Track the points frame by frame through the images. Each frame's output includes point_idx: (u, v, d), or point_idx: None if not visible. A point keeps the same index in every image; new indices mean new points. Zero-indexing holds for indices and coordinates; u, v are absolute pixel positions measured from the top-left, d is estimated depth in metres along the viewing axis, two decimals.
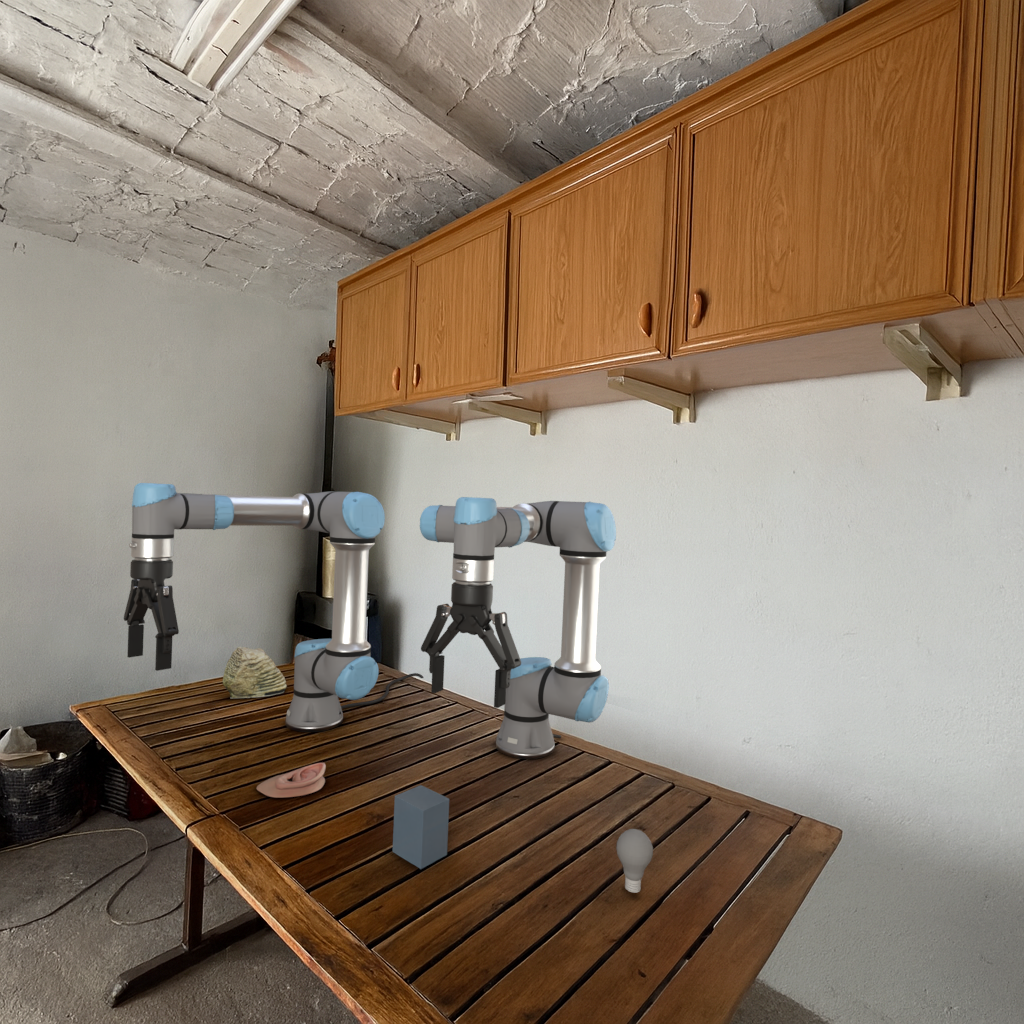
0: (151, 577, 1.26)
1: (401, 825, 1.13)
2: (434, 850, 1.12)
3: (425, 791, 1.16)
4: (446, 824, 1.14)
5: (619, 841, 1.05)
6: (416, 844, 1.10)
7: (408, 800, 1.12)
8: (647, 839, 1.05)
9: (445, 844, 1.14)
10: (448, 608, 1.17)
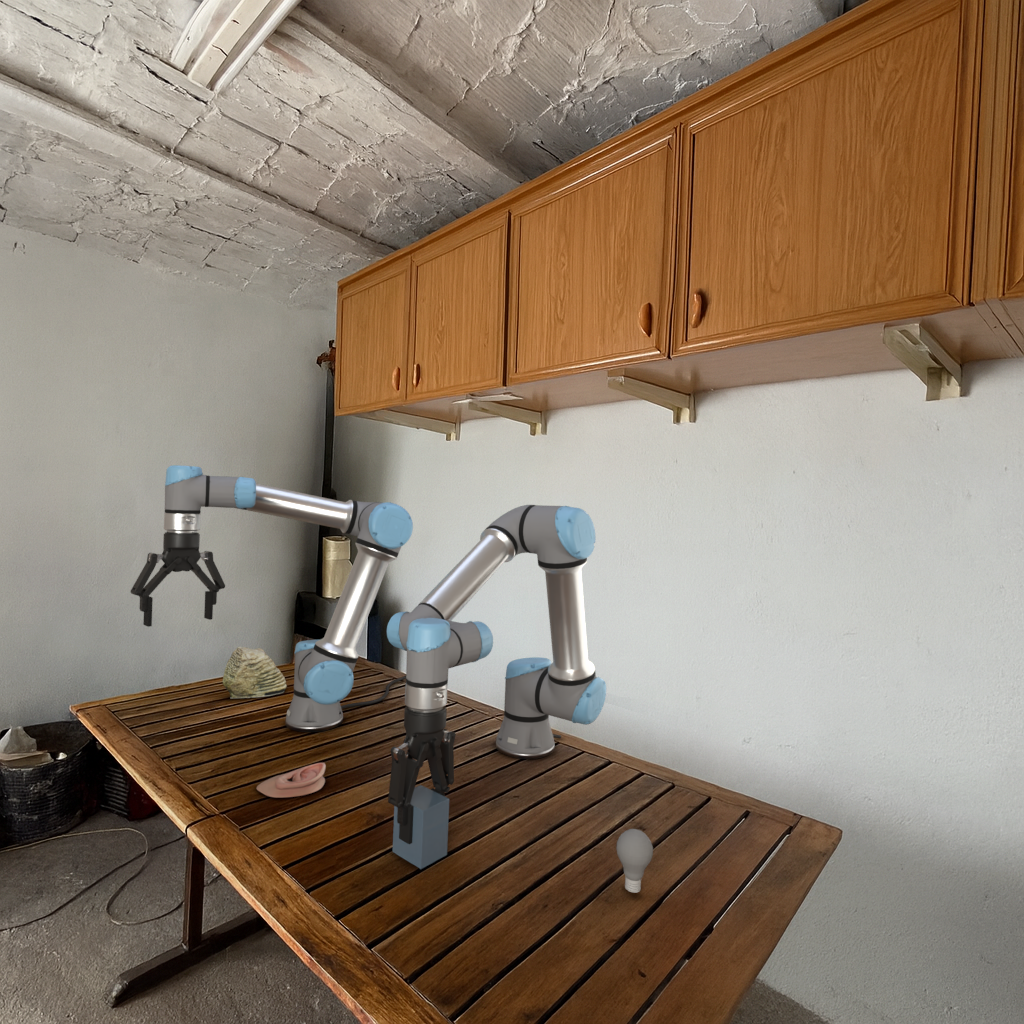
0: None
1: None
2: (434, 850, 1.12)
3: (425, 791, 1.16)
4: (446, 824, 1.14)
5: (619, 841, 1.05)
6: (416, 844, 1.10)
7: None
8: (647, 839, 1.05)
9: (445, 844, 1.14)
10: (405, 747, 1.10)
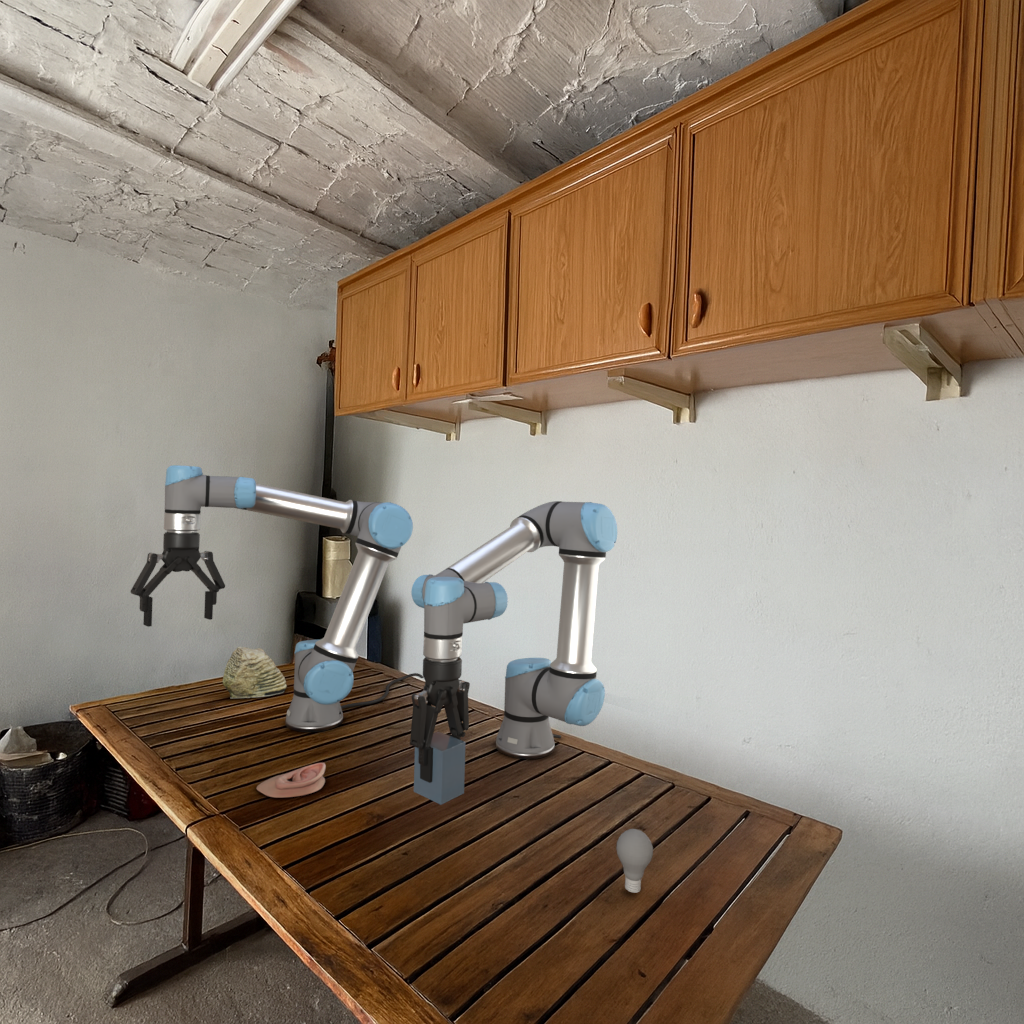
0: None
1: None
2: (452, 788, 1.21)
3: (443, 736, 1.26)
4: (463, 765, 1.23)
5: (619, 841, 1.05)
6: (436, 782, 1.20)
7: None
8: (647, 839, 1.05)
9: (462, 783, 1.24)
10: (425, 693, 1.19)
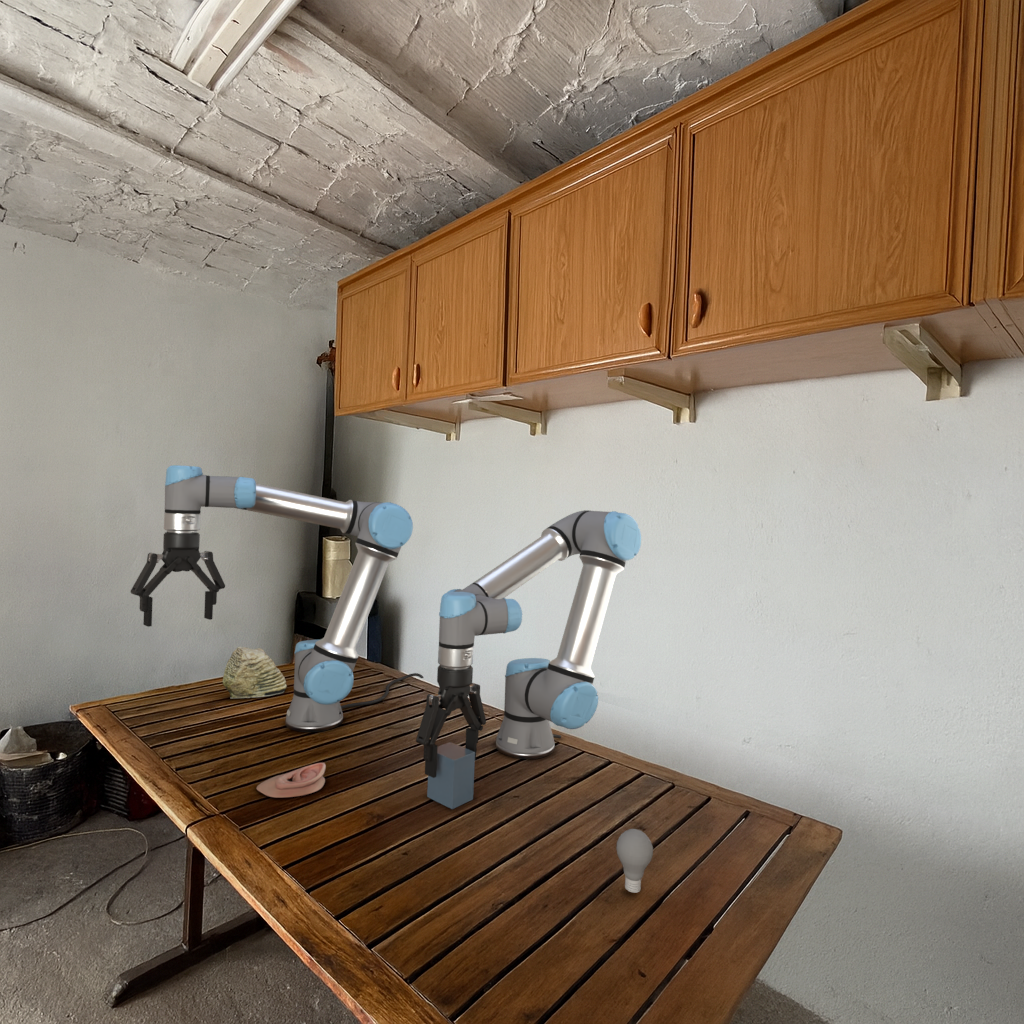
0: None
1: None
2: (462, 794, 1.33)
3: (454, 746, 1.38)
4: (472, 773, 1.35)
5: (619, 841, 1.05)
6: (447, 788, 1.32)
7: (441, 753, 1.34)
8: (647, 839, 1.05)
9: (471, 790, 1.35)
10: (439, 696, 1.31)
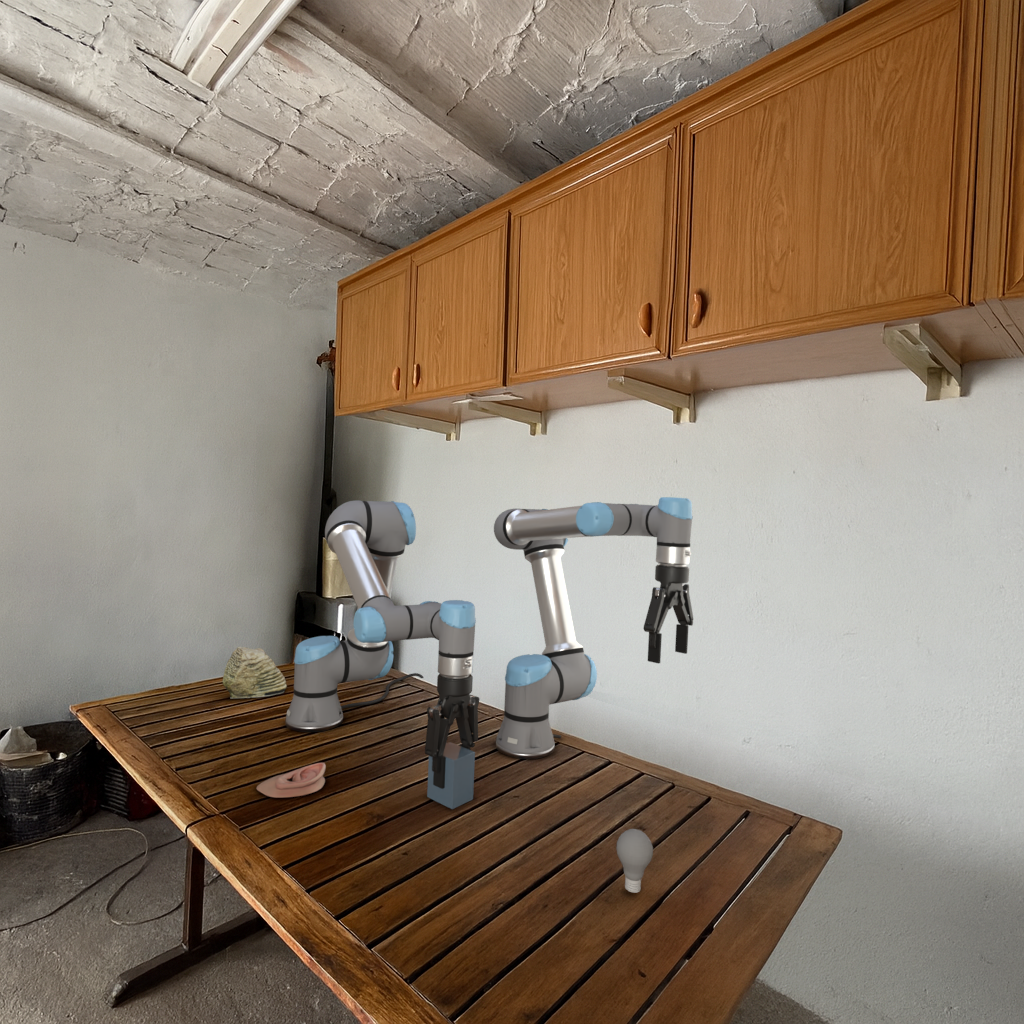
0: None
1: None
2: (462, 794, 1.33)
3: (454, 746, 1.38)
4: (472, 773, 1.35)
5: (619, 841, 1.05)
6: (447, 789, 1.32)
7: None
8: (647, 839, 1.05)
9: (471, 790, 1.35)
10: None
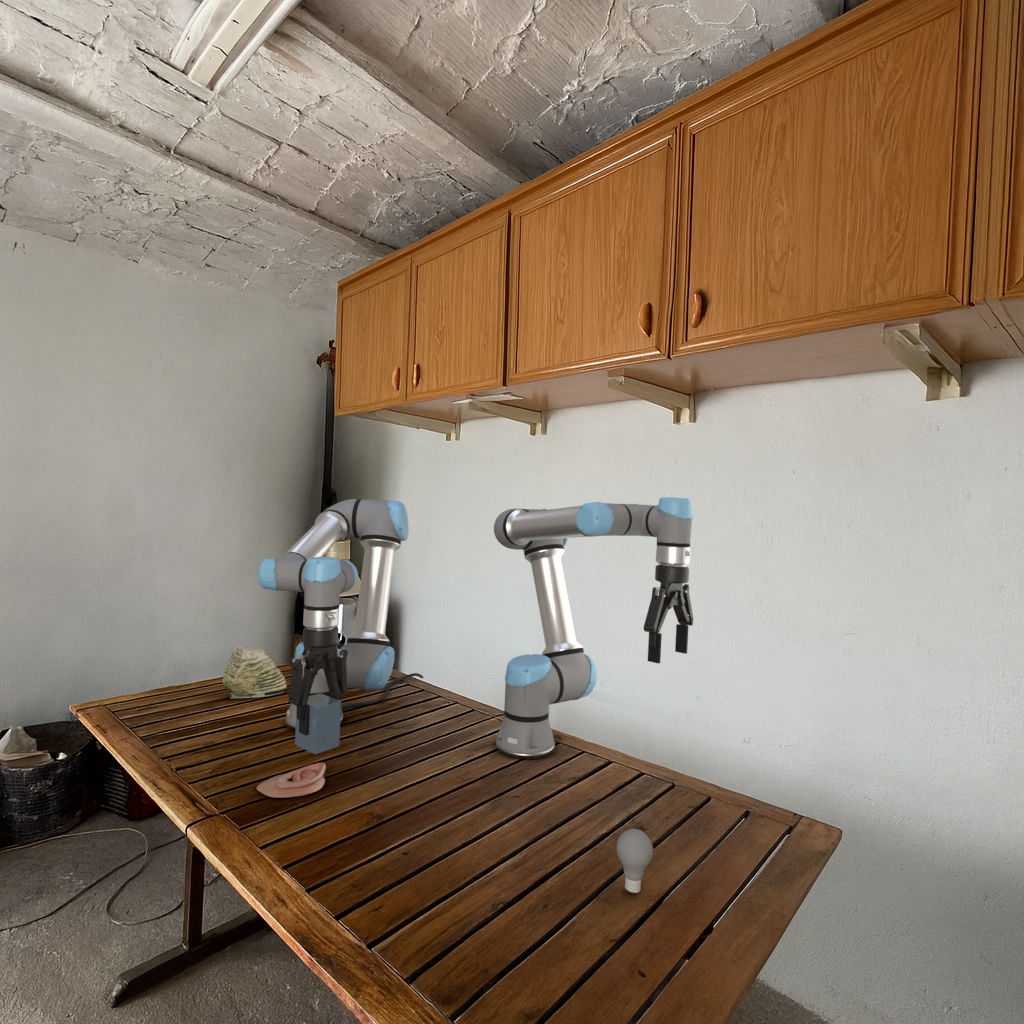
0: None
1: None
2: (327, 741, 1.39)
3: (323, 696, 1.44)
4: (338, 721, 1.41)
5: (619, 841, 1.05)
6: (311, 735, 1.38)
7: (307, 702, 1.40)
8: (647, 839, 1.05)
9: (337, 737, 1.41)
10: None
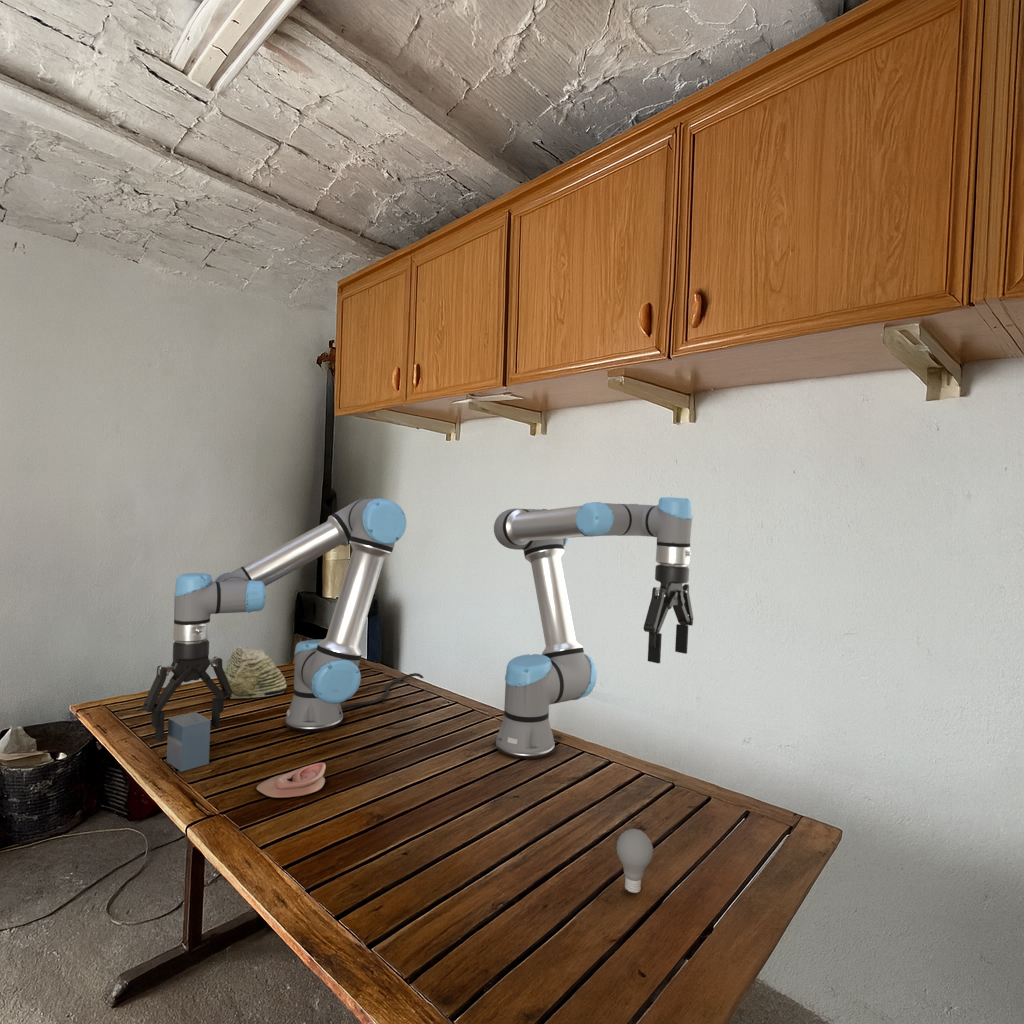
0: (208, 653, 1.49)
1: (171, 740, 1.46)
2: (195, 758, 1.45)
3: (195, 715, 1.50)
4: (207, 739, 1.47)
5: (619, 841, 1.05)
6: (178, 753, 1.43)
7: (176, 721, 1.46)
8: (647, 839, 1.05)
9: (207, 755, 1.47)
10: None
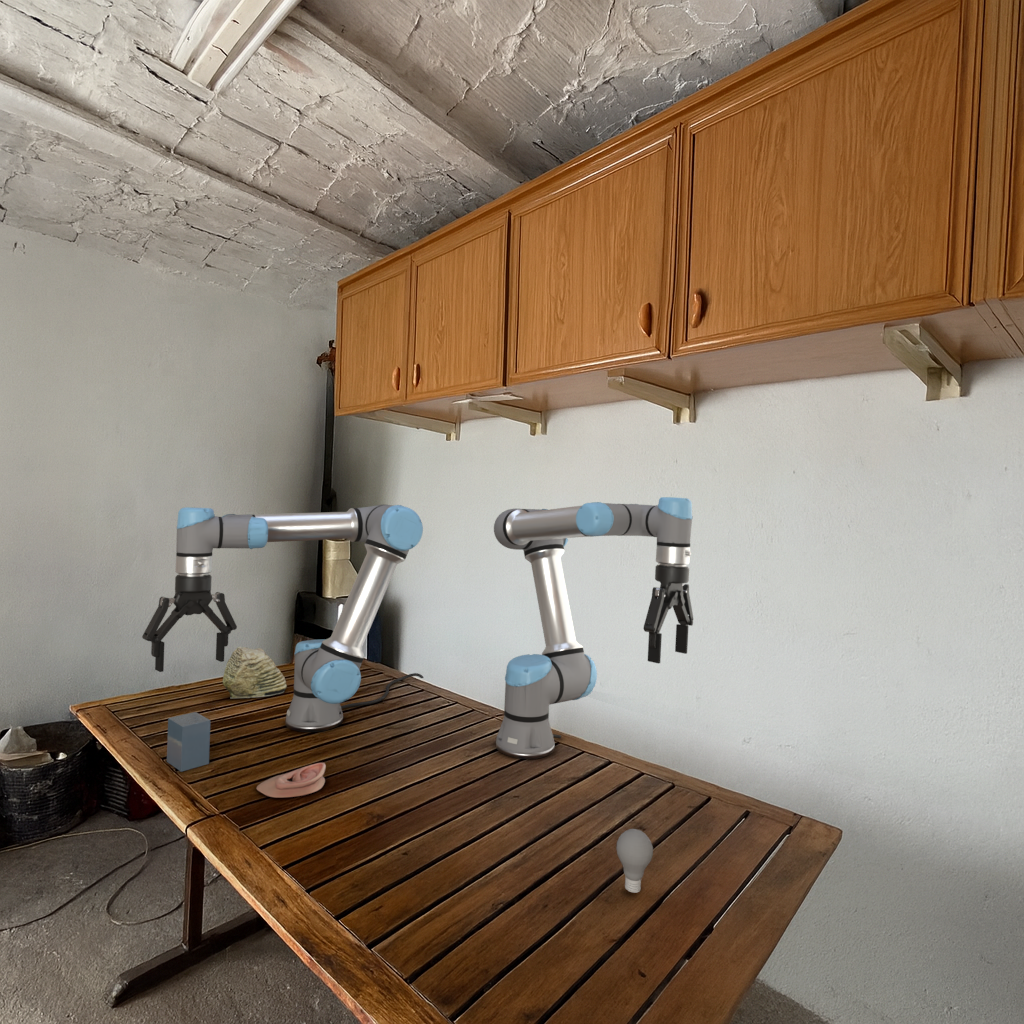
0: None
1: (171, 740, 1.46)
2: (195, 758, 1.45)
3: (195, 715, 1.50)
4: (207, 739, 1.47)
5: (619, 841, 1.05)
6: (178, 753, 1.43)
7: (176, 721, 1.46)
8: (647, 839, 1.05)
9: (207, 755, 1.47)
10: None
